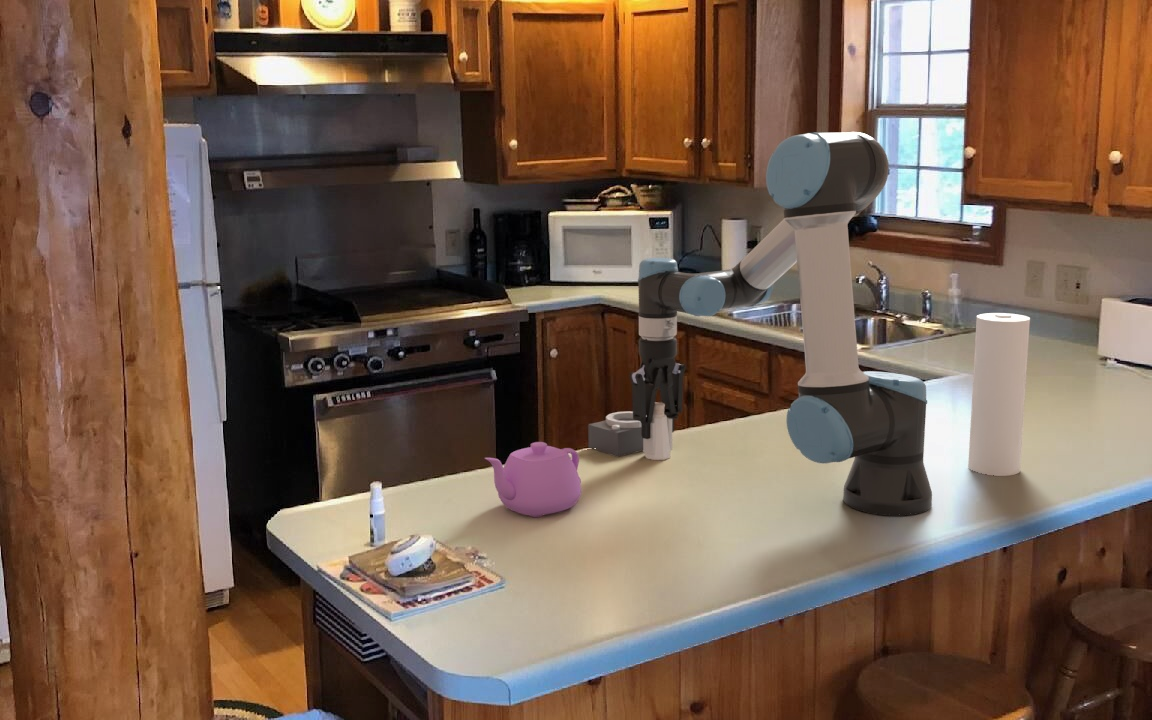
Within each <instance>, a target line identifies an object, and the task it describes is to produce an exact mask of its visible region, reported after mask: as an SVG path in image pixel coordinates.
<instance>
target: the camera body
mask: <svg viewBox="0 0 1152 720" xmlns="http://www.w3.org/2000/svg"><path fill="white" fill-rule="evenodd" d="M646 417H647V416H646ZM587 429H588V433H587V434H588V448H589V449H592V450H595V451H598V452H601V453H604V454H607V455H611V456H614V457H617V458H618V457H619V458H620V457H623V456H626V455H627V456H628V455H631V454H634V453H635V454H636V453H637V452H641V451H642V452H643V438H642V436H641V422H640V421H637V420H634V419H633V411H628V410H627V411H617V412H612V413H609V414H607V415H606V416H605V420H602V421H598V422H597V421H596V422H593V423H588V425H587ZM594 448H596V449H594Z"/></svg>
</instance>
